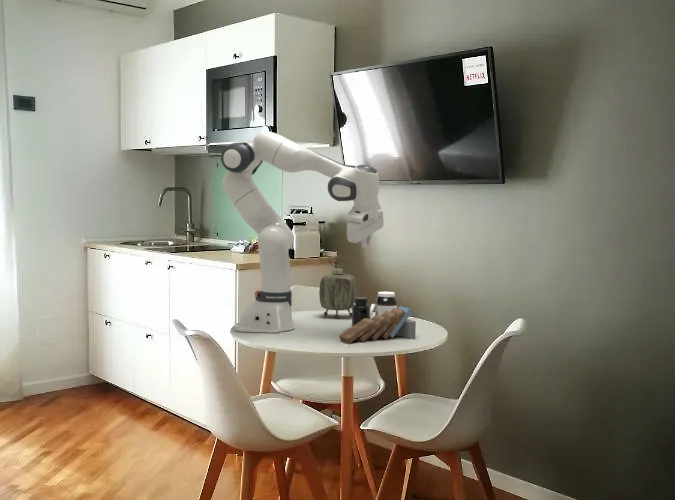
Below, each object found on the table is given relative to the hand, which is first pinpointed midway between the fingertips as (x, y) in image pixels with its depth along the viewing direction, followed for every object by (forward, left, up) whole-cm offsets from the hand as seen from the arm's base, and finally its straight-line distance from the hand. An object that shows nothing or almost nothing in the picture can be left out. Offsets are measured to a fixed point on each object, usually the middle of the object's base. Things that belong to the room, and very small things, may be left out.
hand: (365, 246), depth 247 cm
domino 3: (0, -12, -31) cm, 33 cm away
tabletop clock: (-8, +32, -32) cm, 46 cm away
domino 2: (-4, -14, -31) cm, 34 cm away
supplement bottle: (-1, +6, -32) cm, 32 cm away
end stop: (+14, -6, -32) cm, 35 cm away
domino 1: (-9, -17, -31) cm, 36 cm away
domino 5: (+7, -9, -31) cm, 33 cm away
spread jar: (+9, +24, -32) cm, 41 cm away
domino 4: (+4, -10, -31) cm, 33 cm away
